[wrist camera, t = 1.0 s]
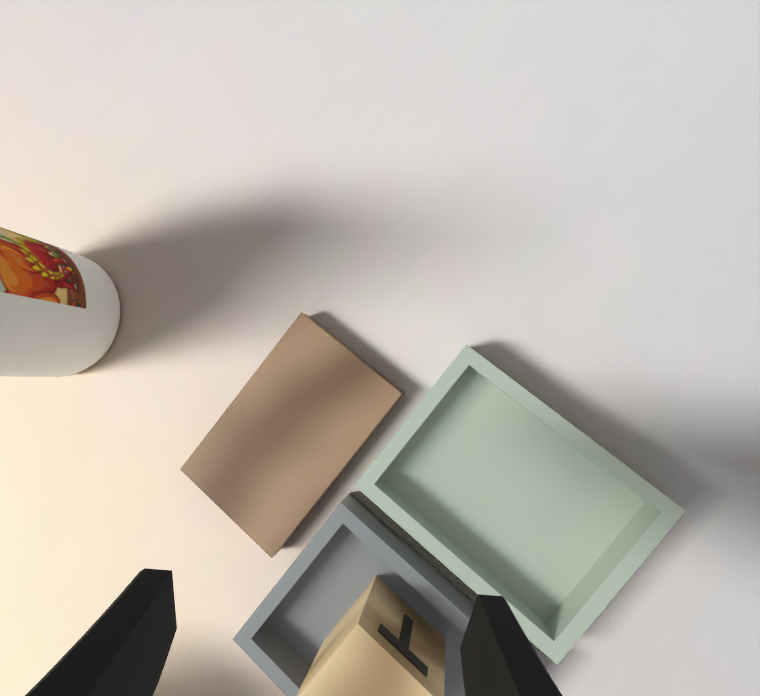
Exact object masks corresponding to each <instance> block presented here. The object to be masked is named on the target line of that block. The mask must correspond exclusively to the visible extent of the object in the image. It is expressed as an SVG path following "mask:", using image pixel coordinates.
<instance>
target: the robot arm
mask: <svg viewBox="0 0 760 696" xmlns="http://www.w3.org/2000/svg"><path fill="white" fill-rule="evenodd" d="M176 629H177V626H176V614H175V602H174V590H173V578H172V571H169V570H156V569H143V570H142V571H140V572H139V573H138V574H137V576H136V577H135V578H134V579H133V580H132V581H131V583H130V584H129V585H128V586H127V587H126V588H125V590H124V591H123V592H122V593H121V594H120V595H119V596H118V598H117V599H116V600H115V601H114V602H113V603H112V604H111V605H110V607H109V608H108V609H107V610H106V611H105V612H104V613H103V614H102V616H101V617H100V618H99V619H98V620H97V621H96V622H95V623H94V624H93V625H92V626H91V628H90V629H89V630H88V631H87V632H86V633H85V634H84V635H83V636H82V637H81V638H80V639H79V641H78V642H77V643H76V644H75V645H74V646H73V647H72V648H71V649H70V650H69V651H68V652H67V653H66V654H65V655H64V656H63V657H62V658H61V659H60V661H59V662H58V663H57V664H56V665H55V666H54V667H53V668H52V669H51V670H50V671H49V672H48V673H47V674H46V675H45V676H44V677H43V678H42V679H41V680H40V681H39V682H38V683H37V684H36V685H35V686H34V687H33V688H32V689H31V690H30V691H29V692H28V693H27V694H26V695H25V696H153V693H154V691H155V689H156V686H157V684H158V682H159V679H160V676H161V673H162V670H163V668H164V665H165V662H166V659H167V656H168V653H169V650H170V647H171V644H172V641H173V638H174V635H175V632H176ZM460 653H461V662H462V672H463V681H464V689H465V696H562V694H561V693H560V691H559V690H558V688H557V686H556V685H555V683H554V682H553V680H552V678H551V677H550V675H549V674H548V672H547V670H546V669H545V667H544V665H543V664H542V662H541V660H540V659H539V657H538V655H537V654H536V652H535V650H534V648H533V647H532V645H531V643H530V642H529V640H528V638H527V636H526V635H525V633H524V631H523V630H522V628H521V626H520V624H519V623H518V621H517V619H516V617H515V615H514V614H513V612H512V610H511V608H510V607H509V605H508V603H507V601H506V600H505V598H504V597H503V596H494V595H481V594H478V596H477V599H476V602H475V605H474V608H473V611H472V614H471V617H470V620H469V623H468V625H467V628H466V631H465V634H464V637H463V640H462V643H461V646H460Z"/></svg>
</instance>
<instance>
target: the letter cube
mask: <svg viewBox="0 0 760 696" xmlns="http://www.w3.org/2000/svg"><path fill="white" fill-rule="evenodd" d="M444 680H445V638H444V637H443V636H442V635H441V634H439V633H438V632H437V631H436V630H435V629H434V628H433V627H432V626H431V625H430V624H429V623H428V622H426V621H425V620H424V619H423V618H422V617H421V616H420V615H419V614H418V613H417V612H416V611H415V610H413V609H412V608H411V607H410V606H409V605H408V604H407V603H406V602H405V601H404V600H403V599H402V598H400V597H399V596H398V595H397V594H396V593H395V592H394V591H393V590H392V589H391V588H390V587H389V586H387V585H386V584H385V583H384V582H383V581H382V580H381V579H380V578H379V577H378V576H377V575H376V576H375V577H374V579H373V580H372V581H371V582H370V584H369V585H368V586H367V587H366V589H365V590H364V591H363V592H362V594H361V595H360V596H359V597H358V599H357V600H356V601H355V602H354V604H353V605H352V606H351V607H350V609H349V610H348V611H347V612H346V614H345V615H344V616H343V617H342V619H341V620H340V621H339V622H338V623H337V625H336V626H335V627H334V628H333V630H332V631H331V632H330V633H329V635H328V636H327V637H326V638H325V640H324V641H323V643H322V645H321V647H320V649H319V651H318V653H317V655H316V657H315V659H314V661H313V663H312V665H311V667H310V669H309V671H308V673H307V675H306V677H305V679H304V681H303V683H302V685H301V687H300V690H299V692H298V694H297V696H444Z"/></svg>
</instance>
